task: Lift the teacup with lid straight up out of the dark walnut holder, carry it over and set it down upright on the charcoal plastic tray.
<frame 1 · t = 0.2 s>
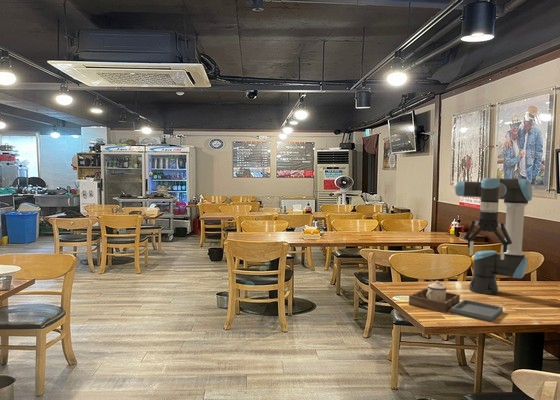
hand: (486, 257, 198), 28 cm above the table, tool pointing down, fingers open, 13 cm apart
walnut holder: (434, 304, 217), on the table
charcoal tray: (476, 312, 205), on the table
teacup with lid: (434, 304, 217), resting in walnut holder
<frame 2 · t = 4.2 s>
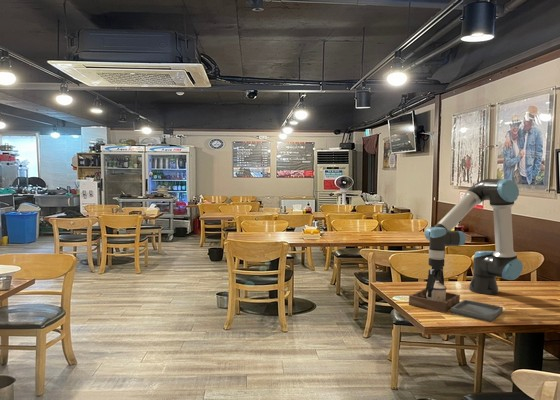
hand: (434, 300, 217), 2 cm above the table, tool pointing down, fingers closed on teacup with lid, 11 cm apart
teacup with lid: (434, 304, 217), resting in walnut holder, touching gripper
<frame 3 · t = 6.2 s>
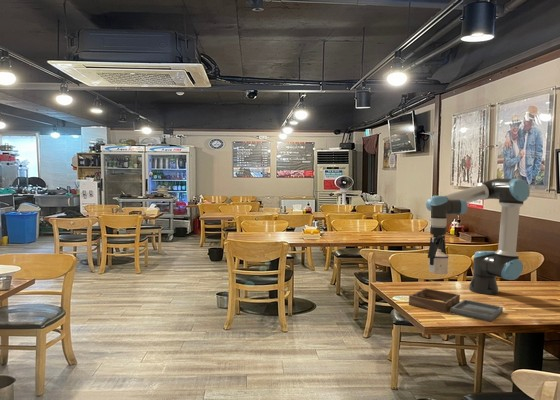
hand: (436, 269, 216), 18 cm above the table, tool pointing down, fingers closed on teacup with lid, 11 cm apart
teacup with lid: (436, 273, 216), point 16 cm above the table, touching gripper
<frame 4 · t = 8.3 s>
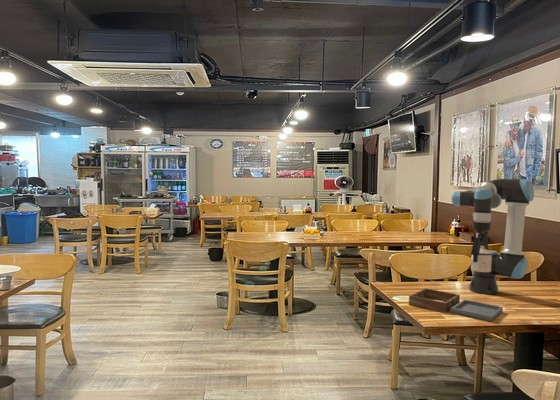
hand: (479, 267, 204), 22 cm above the table, tool pointing down, fingers closed on teacup with lid, 11 cm apart
teacup with lid: (478, 271, 204), point 20 cm above the table, touching gripper
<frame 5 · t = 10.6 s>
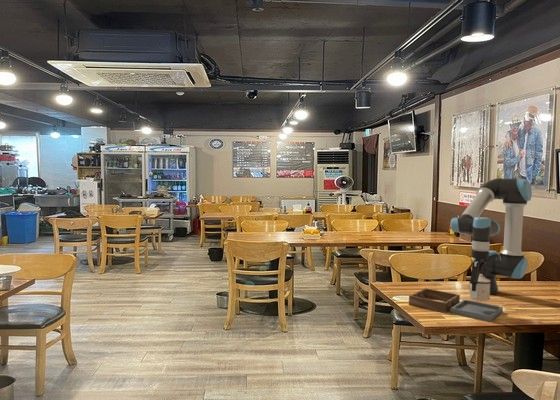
hand: (477, 295, 204), 8 cm above the table, tool pointing down, fingers closed on teacup with lid, 11 cm apart
teacup with lid: (477, 299, 204), point 7 cm above the table, touching gripper
when the fingers open (4 cm above the table, at t = 12.6 s): teacup with lid drops 1 cm, resting on charcoal tray.
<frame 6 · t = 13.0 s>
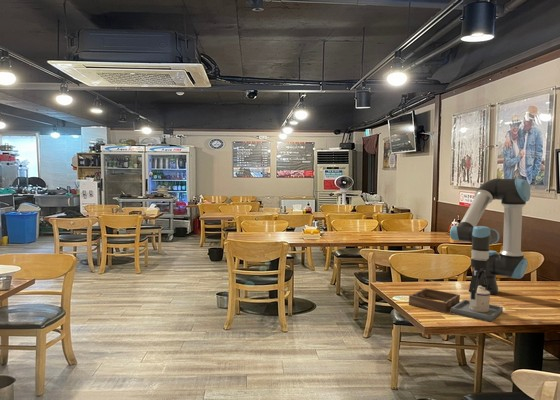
hand: (477, 302, 204), 5 cm above the table, tool pointing down, fingers open, 13 cm apart
teacup with lid: (477, 310, 205), point 1 cm above the table, touching charcoal tray
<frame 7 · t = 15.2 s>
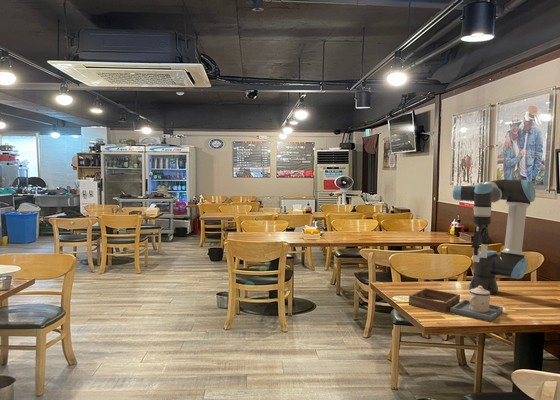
hand: (479, 259, 206), 25 cm above the table, tool pointing down, fingers open, 13 cm apart
nothing on the table moved.
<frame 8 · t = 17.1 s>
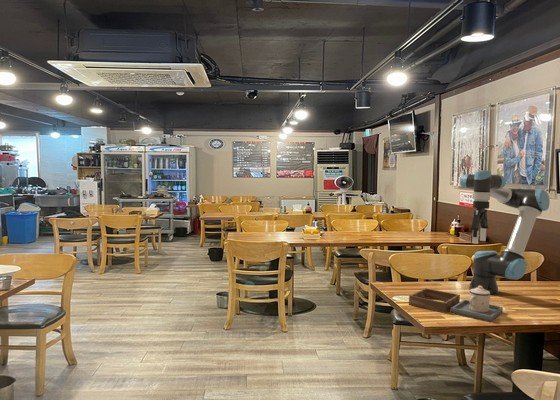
hand: (478, 242, 218), 32 cm above the table, tool pointing down, fingers open, 13 cm apart
nothing on the table moved.
at the end: teacup with lid inside the target area on the charcoal tray (0.5 cm from its centre), point 0.8 cm above the charcoal tray's base; teacup with lid tilted 0°; the gripper is holding nothing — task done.
